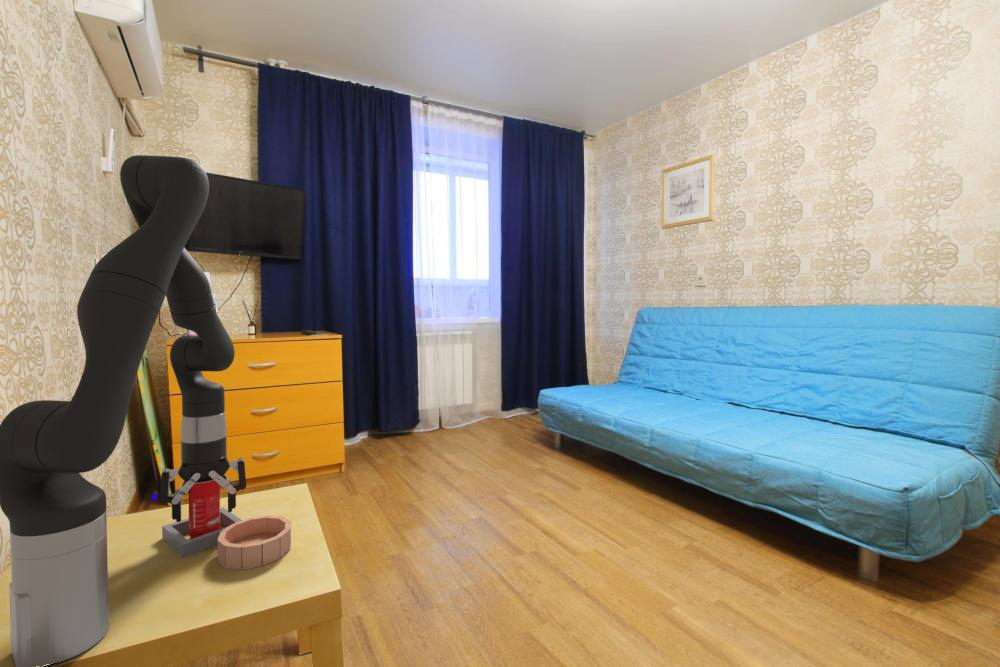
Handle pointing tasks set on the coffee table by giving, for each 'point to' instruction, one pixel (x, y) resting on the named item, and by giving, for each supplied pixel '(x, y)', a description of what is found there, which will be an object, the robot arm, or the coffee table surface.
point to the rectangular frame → (189, 547)
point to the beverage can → (204, 508)
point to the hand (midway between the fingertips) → (205, 515)
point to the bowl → (254, 542)
